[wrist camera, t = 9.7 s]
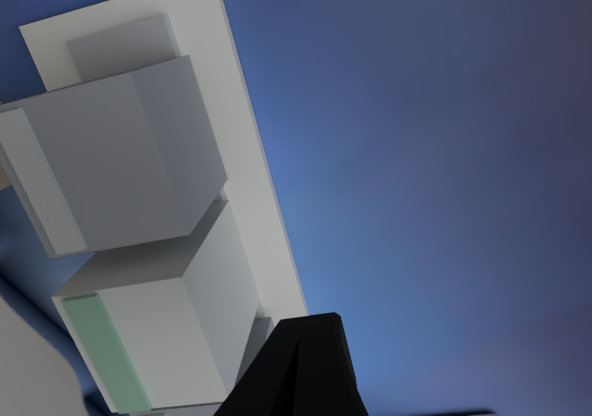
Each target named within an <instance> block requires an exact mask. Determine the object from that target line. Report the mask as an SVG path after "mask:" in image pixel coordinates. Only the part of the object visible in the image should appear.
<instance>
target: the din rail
mask: <svg viewBox="0 0 592 416" xmlns="http://www.w3.org/2000/svg"><path fill="white" fill-rule="evenodd" d="M19 29H20V31H21V33H22V35H23V38H24V40H25V42H26V45H27V47H28V49H29V51H30V54H31V56H32V58H33V60H34V63H35V65H36V67H37V69H38V72H39V74H40V76H41V78H42V81H43V83H44V85H45V88H46V90H47V92H44V93H40V94H37V95H33V96H30V97H26V98H22V99H19V100H15V101H12V102H8V103H5V104H1V105H0V162H1V164H2V166H3V168H4V170H5V172H6V174H7V176H8V178H9V180H10V182H11V184H12V186H13V188H14V190H15V192H16V194H17V195H18V197H19V199H20V201H21V203H22V205H23V207H24V209H25V211H26V213H27V215H28V217H29V219H30V221H31V223H32V225H33V227H34V229H35V231H36V233H37V235H38V237H39V239H40V241H41V242H42V244H43V246H44V248H45V250H46V252H47V254H48V256H49V258H50V259H55V258H61V257H67V256H72V255H78V254H84V253H89V252H95V251H101V250H106V249H112V248H118V247H124V246H129V245H135V244H141V243H146V242H152V241H158V240H163V239H169V238H175V237H180V236H186V235H190V233H191V232H192V231H193V229H194V228H195V226H196V225H197V223H198V222H199V220H200V219H201V218H202V216H203V215H204V213H205V212H206V210H207V209H208V207H209V206H210V205H211V203H213V202H218V201H223V200H230V203H231V206H232V209H233V212H234V216H235V219H236V222H237V225H238V228H239V231H240V235H241V238H242V241H243V244H244V247H245V251H246V254H247V257H248V260H249V263H250V266H251V270H252V273H253V276H254V279H255V282H256V285H257V289H258V292H259V295H260V301H259V304H258V307H257V311H256V314H255V317H254V321H253V324H252V327H251V331H250V334H249V337H248V341H247V344H246V347H245V351H244V354H243V357H242V361H241V364H240V368H239V371H238V374H237V378H236V381H235V384H234V387H235V385H236V384H237V383H238V381H239V380H240V378H241V377H242V376H243V374H244V373H245V371H246V370H247V368H248V367H249V366H250V364H251V363H252V361H253V360H254V358H255V357H256V355H257V354H258V352H259V351H260V349H261V348H262V346H263V345H264V343H265V341H266V340H267V338H268V337H269V335H270V334H271V332H272V331H273V329H274V328H275V326H276V325H277V323H278V322H279V321H280V320H281V319H287V318H295V317H302V316H309V312H308V308H307V305H306V301H305V297H304V294H303V290H302V287H301V283H300V279H299V276H298V272H297V268H296V265H295V261H294V257H293V254H292V250H291V247H290V243H289V239H288V236H287V232H286V228H285V225H284V221H283V217H282V214H281V210H280V206H279V203H278V199H277V196H276V192H275V188H274V185H273V181H272V177H271V174H270V170H269V166H268V163H267V159H266V155H265V152H264V148H263V145H262V141H261V137H260V134H259V130H258V126H257V123H256V119H255V115H254V112H253V108H252V104H251V101H250V97H249V94H248V90H247V86H246V83H245V79H244V75H243V72H242V68H241V64H240V61H239V57H238V53H237V50H236V46H235V43H234V39H233V35H232V32H231V28H230V24H229V21H228V17H227V13H226V10H225V6H224V2H223V0H109V1H105V2H102V3H99V4H95V5H92V6H88V7H85V8H81V9H78V10H75V11H71V12H68V13H64V14H61V15H57V16H54V17H51V18H47V19H44V20H40V21H37V22H33V23H30V24H27V25H23V26H20V27H19ZM223 402H224V401H223ZM223 402H213V403H203V404H192V405H182V406H172V407H162V408H151V410H150V411H143V412H133V413H129V415H130V416H213V415H214V413H215V412H216V411H217V410H218V408H219V407H220V406H221V404H222V403H223Z"/></svg>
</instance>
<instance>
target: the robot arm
mask: <svg viewBox="0 0 592 416" xmlns="http://www.w3.org/2000/svg"><path fill="white" fill-rule="evenodd" d="M213 416H369V415H368V413H367V411H366V409H365V406H364V404H363V402H362V400H361V397H360V395H359V392H358V390H357V384H356V377H355V373H354V369H353V365H352V361H351V357H350V353H349V349H348V344H347V340H346V336H345V332H344V328H343V324H342V320H341V316H340V315H338V314H337V313H335V312H332V313H325V314H317V315H310V316H302V317H295V318H287V319H281V320H280V321H279V322H278V323H277V325H276V326H275V328H274V329H273V331H272V332H271V334H270V335H269V337H268V338H267V340H266V341H265V343H264V345H263V346H262V348H261V349H260V351H259V352H258V354H257V355H256V357H255V358H254V360H253V361H252V363H251V364H250V366H249V367H248V368H247V370H246V371H245V373H244V374H243V376H242V377H241V378H240V380H239V381H238V383H237V384H236V385H235V387H234V388H233V390H232V391H231V393H230V394H229V395H228V397H227V398H226V399H225V401H224V402H223V403H222V404H221V406H220V407H219V408H218V410H217V411H216V412H215V413H214V415H213ZM470 416H498V415H495V414H482V415H470Z"/></svg>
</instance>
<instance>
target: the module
mask: <svg viewBox="0 0 592 416" xmlns="http://www.w3.org/2000/svg"><path fill="white" fill-rule="evenodd" d="M51 298H52V300H53V302H54V304H55V306H56V308H57V310H58V312H59V313H60V315H61V317H62V319H63V321H64V323H65V325H66V327H67V329H68V331H69V332H70V334H71V336H72V338H73V340H74V342H75V344H76V346H77V348H78V350H79V351H80V353H81V355H82V357H83V359H84V361H85V363H86V365H87V367H88V369H89V371H90V372H91V374H92V376H93V378H94V380H95V382H96V384H97V386H98V388H99V390H100V391H101V393H102V395H103V397H104V399H105V401H106V403H107V405H108V407H109V409H110V410H111V412H118V413H119V414H123V413H133V412H143V411H150V410H151V408H162V407H172V406H182V405H192V404H203V403H213V402H223V401H225V399H226V398H227V397H228V395H229V394H230V393H231V391H232V390H233V388H234V384H235V381H236V378H237V374H238V371H239V368H240V364H241V361H242V357H243V354H244V351H245V347H246V344H247V341H248V337H249V334H250V331H251V327H252V324H253V321H254V317H255V314H256V311H257V307H258V304H259V301H260V295H259V292H258V289H257V285H256V282H255V279H254V276H253V273H252V270H251V266H250V263H249V260H248V257H247V254H246V251H245V247H244V244H243V241H242V238H241V235H240V231H239V228H238V225H237V222H236V219H235V216H234V212H233V209H232V206H231V203H230V200H223V201H218V202H213V203H211V205H210V206H209V207H208V209H207V210H206V212H205V213H204V215H203V216H202V218H201V219H200V220H199V222H198V223H197V225H196V226H195V228H194V229H193V231H192V232H191V233H190V235H186V236H180V237H175V238H169V239H163V240H158V241H152V242H146V243H141V244H135V245H129V246H124V247H118V248H112V249H106V250H101V251H98V252H97V253H96V254H95V255H94V256H93V257H92V258H91V259H90V260H89V261H88V262H87V263H86V264H85V265H84V266H83V267H82V268H81V269H80V270H79V271H77V272H76V273H75V274H74V275H73V276H72V277H71V278H70V279H69V280H68V281H67V282H66V283H65V284H64V285H63V286H62V287H61V288H60V289H59V290H58V291H57V292H56V293H55V294H54V295H53V296H52V297H51Z"/></svg>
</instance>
